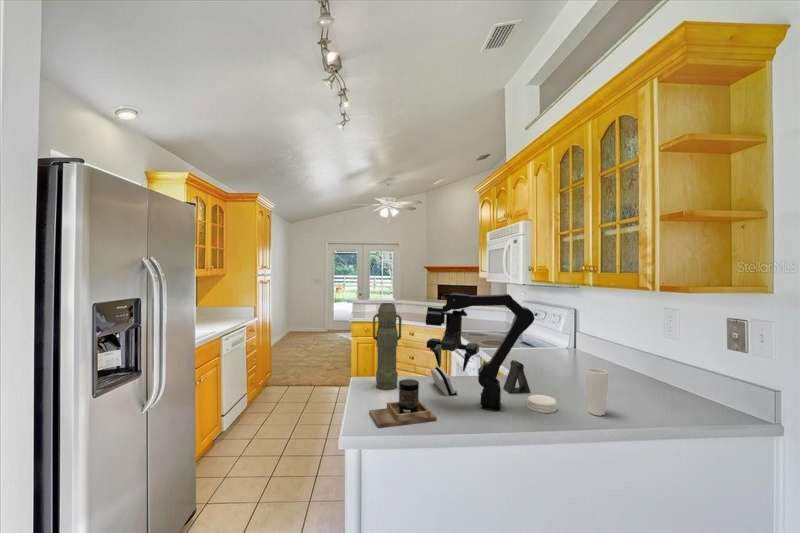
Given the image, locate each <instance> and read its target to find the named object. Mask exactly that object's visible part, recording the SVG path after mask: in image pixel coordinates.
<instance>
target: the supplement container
mask: <svg viewBox="0 0 800 533" xmlns="http://www.w3.org/2000/svg"><path fill="white" fill-rule="evenodd" d="M419 388H420V383H419V381H418V380H416V379H409V378H407V379H406V378H405V379H401V380H399V381H398V402H399V413H400V414H404V413H413V412H418V404H419V401H420V399H419V395H420V394H419V393H420V391H419V390H420V389H419Z"/></svg>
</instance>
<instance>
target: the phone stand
mask: <svg viewBox="0 0 800 533" xmlns="http://www.w3.org/2000/svg"><path fill="white" fill-rule="evenodd" d="M509 365H510V367H509V371H508V374H507V377H506V378H505V379H506V380H505V383H504V385H503V390H504V391H505V392H507V393H508V394H510V395H514V394H530V393H531V389H530V387H529V383H528V379H527V377H526V375H525V371H524V368H525V367H524V364H523V363H521V362H520V361H517V360H515V359H514V360H513V359H512V360H511V361H510V363H509ZM517 382H518V387H516V386H517Z"/></svg>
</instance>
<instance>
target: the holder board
mask: <svg viewBox="0 0 800 533" xmlns="http://www.w3.org/2000/svg"><path fill="white" fill-rule="evenodd" d="M368 414H369V415H370V417H371V419H372V421H373V423H374V424H375V426H376V427H377V428H378V429H382V428H388V427H396V426H397V427H399V426H404V425H411V424H421V423H429V422H437V419H438V418H437V416H436V414H434V413H433V412H432V411H431V410H430V409H429V408H428V407H427V406H426V405H425V404H423V402H421V401H420V400H419V404H418V412H413V413H404V414H400V413H399V401H392V402H391V401H390V402H386V408H377V409H369V410H368Z"/></svg>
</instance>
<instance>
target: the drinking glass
mask: <svg viewBox="0 0 800 533" xmlns="http://www.w3.org/2000/svg"><path fill="white" fill-rule="evenodd" d="M585 376H586V391H587V392H586V393H587V394H586V395H587V410H588V413H589V414H590V415H594V416H597V417H599V416H600V417H601V416H602V415H603V416H605V415H606V406H607V397H608V396H607V395H608V386H609V372H608V371H607V370H606V369H604V368H603V369H602V368H597V367H594V368H593V367H589V368H587V369H586V375H585Z"/></svg>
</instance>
